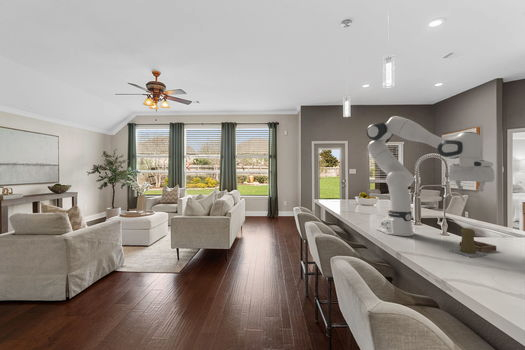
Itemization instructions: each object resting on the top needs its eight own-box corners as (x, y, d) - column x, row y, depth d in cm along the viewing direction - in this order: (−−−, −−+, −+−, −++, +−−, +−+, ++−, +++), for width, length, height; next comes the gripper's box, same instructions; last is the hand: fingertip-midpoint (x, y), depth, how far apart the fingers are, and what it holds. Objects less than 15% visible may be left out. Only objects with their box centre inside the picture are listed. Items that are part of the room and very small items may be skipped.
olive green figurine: (462, 249, 124) (462, 226, 124) (478, 252, 119) (478, 228, 119) (457, 251, 121) (457, 228, 121) (473, 254, 116) (473, 230, 116)
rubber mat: (449, 250, 124) (449, 249, 124) (464, 248, 126) (464, 247, 126) (471, 257, 114) (471, 256, 114) (487, 255, 117) (487, 253, 117)
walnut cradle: (459, 247, 130) (459, 242, 130) (473, 245, 132) (473, 240, 132) (481, 253, 120) (481, 247, 120) (496, 250, 123) (496, 245, 123)
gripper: (445, 163, 141) (445, 188, 141) (487, 162, 121) (486, 191, 121) (454, 163, 142) (454, 188, 143) (496, 162, 123) (496, 191, 123)
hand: (469, 190), depth 132 cm, fingers open, 8 cm apart
